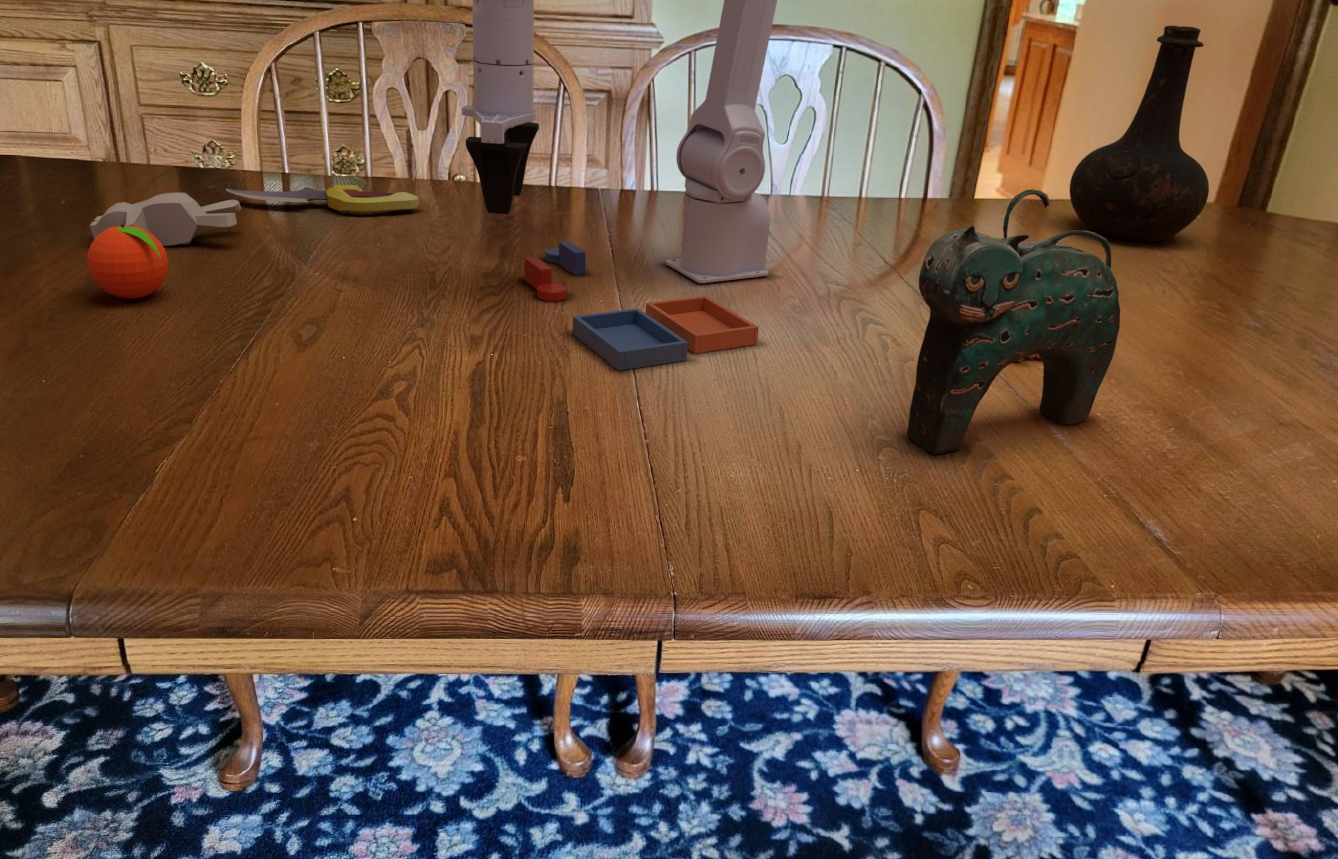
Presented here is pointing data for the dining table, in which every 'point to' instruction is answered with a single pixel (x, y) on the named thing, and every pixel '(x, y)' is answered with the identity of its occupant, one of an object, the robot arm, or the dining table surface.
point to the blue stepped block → (568, 257)
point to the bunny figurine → (168, 217)
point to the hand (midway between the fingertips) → (504, 203)
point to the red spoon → (543, 280)
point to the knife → (341, 198)
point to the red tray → (704, 323)
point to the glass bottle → (1147, 159)
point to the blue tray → (629, 339)
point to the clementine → (127, 262)
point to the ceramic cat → (1010, 326)
